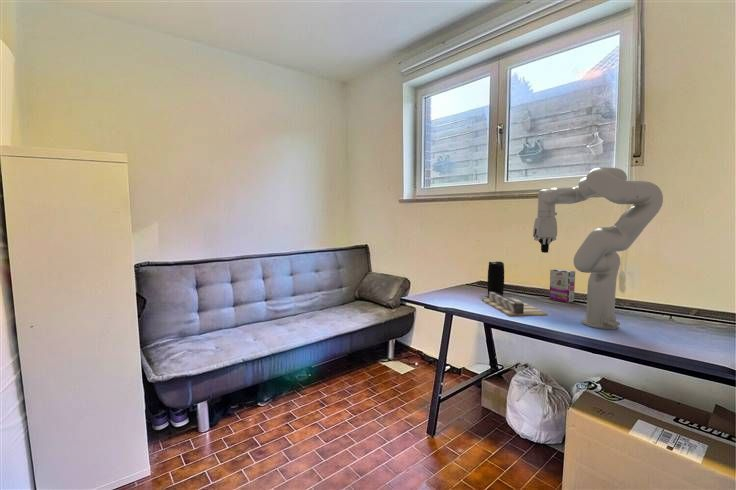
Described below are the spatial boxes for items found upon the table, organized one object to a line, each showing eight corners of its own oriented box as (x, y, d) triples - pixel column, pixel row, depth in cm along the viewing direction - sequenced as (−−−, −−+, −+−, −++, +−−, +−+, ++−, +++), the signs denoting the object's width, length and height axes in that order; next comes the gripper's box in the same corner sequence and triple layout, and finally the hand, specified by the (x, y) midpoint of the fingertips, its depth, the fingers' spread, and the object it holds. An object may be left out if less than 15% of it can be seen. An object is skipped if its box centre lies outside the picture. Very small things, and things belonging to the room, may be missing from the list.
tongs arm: (520, 311, 157) (520, 303, 157) (516, 311, 157) (517, 303, 157) (494, 298, 182) (494, 291, 182) (491, 298, 182) (491, 291, 182)
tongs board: (547, 315, 155) (547, 303, 155) (509, 316, 154) (509, 304, 153) (513, 299, 185) (514, 289, 184) (481, 300, 183) (481, 290, 183)
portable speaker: (497, 294, 197) (498, 260, 195) (507, 298, 187) (508, 263, 186) (483, 295, 195) (484, 261, 193) (492, 299, 186) (493, 263, 184)
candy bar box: (574, 302, 179) (576, 271, 177) (568, 303, 177) (569, 271, 175) (555, 297, 189) (556, 268, 187) (548, 298, 187) (550, 268, 185)
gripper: (555, 214, 171) (554, 251, 173) (527, 215, 170) (526, 251, 171) (565, 214, 164) (564, 253, 165) (535, 214, 163) (534, 253, 164)
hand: (544, 252), depth 168 cm, fingers closed
